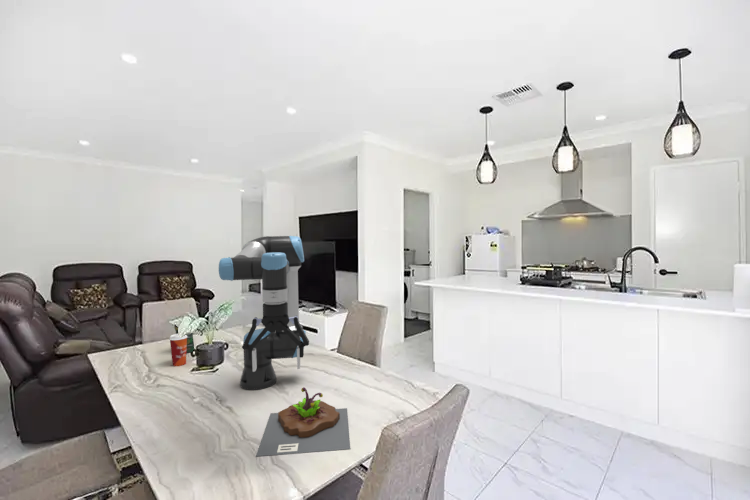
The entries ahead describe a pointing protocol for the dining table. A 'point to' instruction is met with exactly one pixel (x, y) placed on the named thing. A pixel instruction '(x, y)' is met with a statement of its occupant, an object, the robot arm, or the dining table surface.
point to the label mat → (304, 438)
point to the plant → (308, 416)
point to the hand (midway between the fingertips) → (276, 368)
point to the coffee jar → (188, 341)
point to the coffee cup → (178, 349)
